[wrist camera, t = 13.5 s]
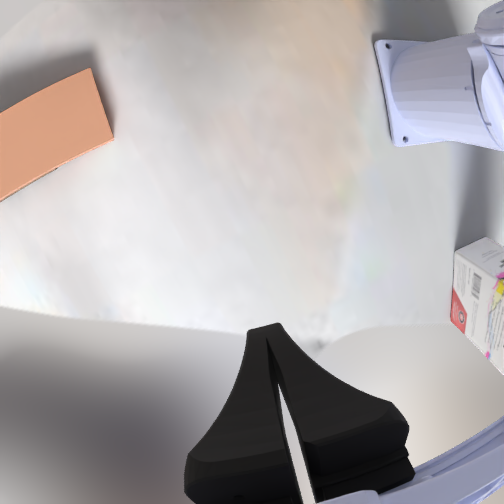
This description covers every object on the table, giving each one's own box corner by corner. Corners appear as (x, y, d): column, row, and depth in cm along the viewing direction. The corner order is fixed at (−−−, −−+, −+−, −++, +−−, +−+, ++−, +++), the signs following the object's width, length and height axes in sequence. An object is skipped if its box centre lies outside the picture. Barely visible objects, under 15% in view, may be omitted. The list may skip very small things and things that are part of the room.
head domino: (90, 67, 15) (-31, 134, 12) (113, 137, 17) (-9, 204, 14) (91, 74, 16) (-23, 135, 14) (113, 140, 18) (-1, 201, 16)
